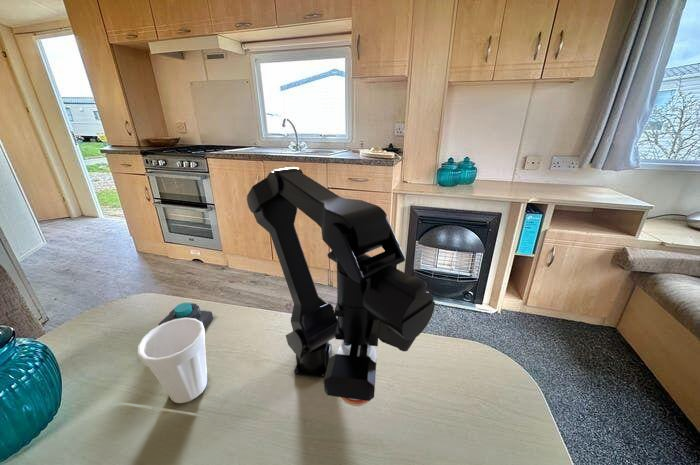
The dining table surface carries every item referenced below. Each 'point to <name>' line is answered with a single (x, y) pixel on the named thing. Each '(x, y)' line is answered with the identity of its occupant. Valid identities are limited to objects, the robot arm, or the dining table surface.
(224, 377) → the dining table surface
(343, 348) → the pill bottle
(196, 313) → the dispenser
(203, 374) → the cup
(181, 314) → the dispenser button
